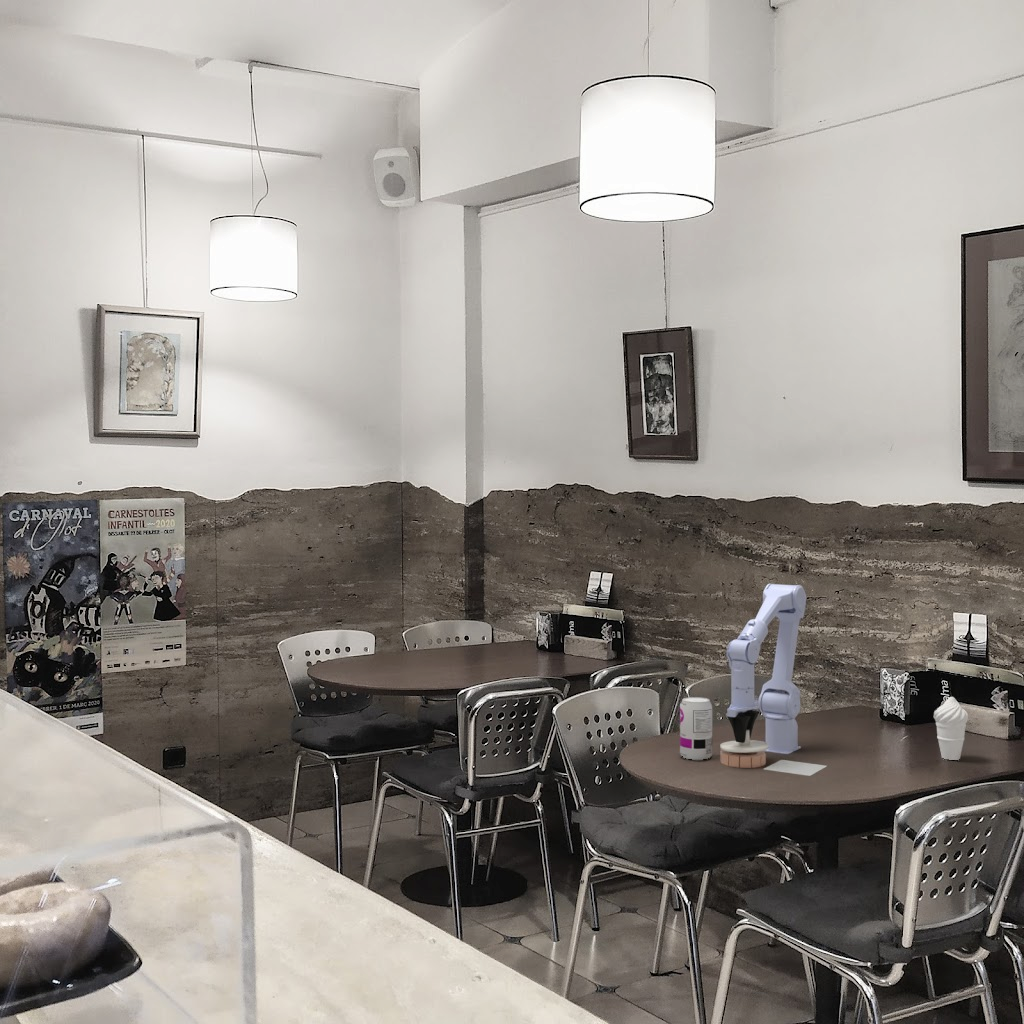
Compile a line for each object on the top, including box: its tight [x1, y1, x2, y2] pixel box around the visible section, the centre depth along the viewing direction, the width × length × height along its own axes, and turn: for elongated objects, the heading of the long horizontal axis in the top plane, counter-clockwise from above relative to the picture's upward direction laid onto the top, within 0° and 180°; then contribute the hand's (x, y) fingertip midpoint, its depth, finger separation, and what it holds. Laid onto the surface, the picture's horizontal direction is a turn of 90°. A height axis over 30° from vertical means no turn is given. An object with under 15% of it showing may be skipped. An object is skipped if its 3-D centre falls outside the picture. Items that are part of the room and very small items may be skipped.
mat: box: [763, 759, 828, 777], centre depth 287 cm, size 12×12×1 cm
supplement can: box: [679, 696, 713, 761], centre depth 300 cm, size 8×8×15 cm
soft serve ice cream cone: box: [933, 696, 969, 761], centre depth 296 cm, size 8×8×16 cm
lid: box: [719, 729, 769, 753], centre depth 292 cm, size 12×12×4 cm
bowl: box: [719, 749, 767, 769], centre depth 293 cm, size 11×11×3 cm
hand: (742, 740), depth 293 cm, fingers closed on lid, 3 cm apart
